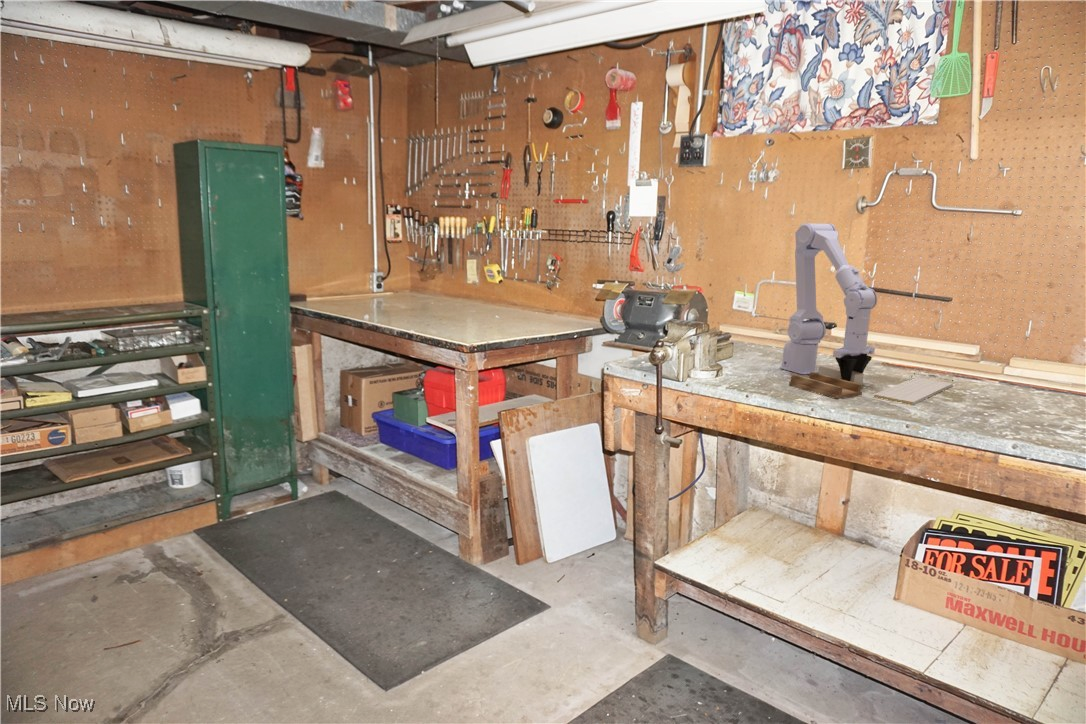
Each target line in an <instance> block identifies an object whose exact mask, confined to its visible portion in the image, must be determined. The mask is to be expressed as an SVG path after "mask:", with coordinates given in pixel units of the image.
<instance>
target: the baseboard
mask: <svg viewBox="0 0 1086 724" xmlns="http://www.w3.org/2000/svg"><path fill="white" fill-rule="evenodd" d="M917 375H919V376H917V377H915V379H913V376H916V372H915V373H913V374H912V375H910V378H912V380H910V379H908V380H906V381H903V382H901V383H898V384H896V385H892V386H891V387H887V388H886V389H883V390H881V391H878V392H876V393H874V394H871V395H870V396H874V397H878V398H877V399H879V398H883V399H882V400H884V399H888V400H887V401H889V400H892V401H891V402H894V401H897V402H896V403H898V402H902V403H901V404H903V403H906V404H905V405H908V404H910V405H909V406H914V405H916V404H918V403H920V402H923V401H924V399H925V400H927V399H929V398H931V397H933V396H935V395H937V394H939V393H942V392H943V390H944V391H945V389H946V390H948V389H950V388H952V387H953V385H954V383H953V382H954V380H953V379H952V380H951V382H948V379H946V378H945V380H946V381H947V382H946V381H940V380H941V379H942V378H941V377H939V379H940V380H935V379H936V378H937V376H936V375H935V374H928V375H927V377H933V378H935V379H929V378H925V377H923V378H922V377H920V374H917ZM922 376H925V375H924V374H923V375H922ZM909 380H910V381H909ZM951 386H952V387H951ZM949 387H950V388H949ZM947 388H948V389H947ZM932 395H933V396H932ZM930 396H931V397H930ZM874 397H873V398H874ZM928 397H929V398H928ZM926 398H927V399H926Z"/></svg>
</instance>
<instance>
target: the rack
mask: <svg viewBox="0 0 1086 724" xmlns="http://www.w3.org/2000/svg"><path fill="white" fill-rule="evenodd" d="M788 386H790V387H793V386H794V388H798V389H800V388H801V390H804V389H805V390H804V391H807V390H809V391H808V392H811V391H813V392H812V393H814V392H816V393H815V394H817V393H820V394H819V395H821V394H823V395H822V396H824V395H827V396H826V397H828V396H831V397H834V398H833V399H835V398H842V399H845V398H844V397H849V398H852V397H851V396H855V397H859V396H858V395H861V396H862V395H863V394H862V393H863V391H862V387H863V384H862V385H861V384H857V383H853V382H849V381H846V380H842V379H838V378H834V377H830V376H826V375H823V374H819V373H815V372H810V374H809V377H805V376H803V375H802V376H801V375H798V374H795V373H794V374H793V373H792V374H791V375H790V381H789V382H788ZM861 386H862V387H861ZM831 397H830V398H831Z"/></svg>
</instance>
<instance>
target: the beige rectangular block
mask: <svg viewBox="0 0 1086 724" xmlns="http://www.w3.org/2000/svg"><path fill="white" fill-rule="evenodd" d="M818 370H819V374H823V375H826V376H830V377H834V378H838V379H841V372H840V368H839V366H835V365H831V364H826V365H825V364H823V365H819V367H818ZM864 375H865V374H864V372H863V373H859V372H855V371H852V375H851V379H850V382H853V383H857V384H861V385H862V386H861V388H863V383H864Z"/></svg>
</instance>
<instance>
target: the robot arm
mask: <svg viewBox="0 0 1086 724" xmlns="http://www.w3.org/2000/svg"><path fill="white" fill-rule="evenodd" d="M794 234H795V235H794V237H795V238H794V239H795V250H794V251H795V252H794V261H795V263H794V265H795V289H796V291H795V293H796V311H795V312H794V313H793V314H791V315H790V317H789V323H788V324H789V325H788V327H787V336H788V337H789V340H788V341H786V343H785V344H784V346H783V351H782V360H781V366H780V367H779V369H782V370H785V371H789V372H791V373H792V372H793V373H796V374H800V375H810V372H815V373H819V369H816V368H817V366H816V365H817V359H818V357H817V356H818V349H819V344H820V343H821V340H823V339H824V338H825V337H826V332H827V329H826V328H827V327H826V325H825V323H824V316H823V315H822V313H821V312H819V310H818V309H817V288H816V287H817V285H816V283H817V282H816V261H815V259H816V256H818V254H819V253H820V252H822V251H823V253H824V254H825V255H826V257H827V258H828V260H829V262H830V263H831V264H832V266H833V268H834V269H835V270H836V273H835V275H834V276H835V280H836V281H837V284H838V285H839V287H840V288H841V290H842V293H843V294H844V296H845V297H844V298H843V305H844V307H845V314H846V323H845V332H844V340H843V346H842V347H840V348H836V349H833V352H832V357H833V358H835V360H836V362H837V364H838V367H839V368H840V372H841V379H842V380H846V381H849V382H850V379H851V375H852V371H855V372H859V373H863V374H864V371H865V370H866V368H867V366H868V364H869V363H870V361H872V355H874V354H875V349H876V347H875V346H870V345H867V343H868V336H869V326H870V320H871V312H872V310H873V309H874V308H875V307H876V306H877V303H878V296H877V293H876V291H875V290H874V289H873V288H870V287H869V286H868V285H866V283H865V282H864V280H863V278H862V276H861V275H860V271H859V269H858V268H856V266H853V265H850V264H849V262H848V260H847V258H846V255H845V253H844V251H843V249H842V246H841V245H840V241H839V236H840V235H839V232H838V231H837V228H836V226H835V225H834V224H833V223H829V222H827V223H812V222H811V223H809V222H803V223H802V224H800V226H799V227H798V228H797V230H796V231H795V233H794Z"/></svg>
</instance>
